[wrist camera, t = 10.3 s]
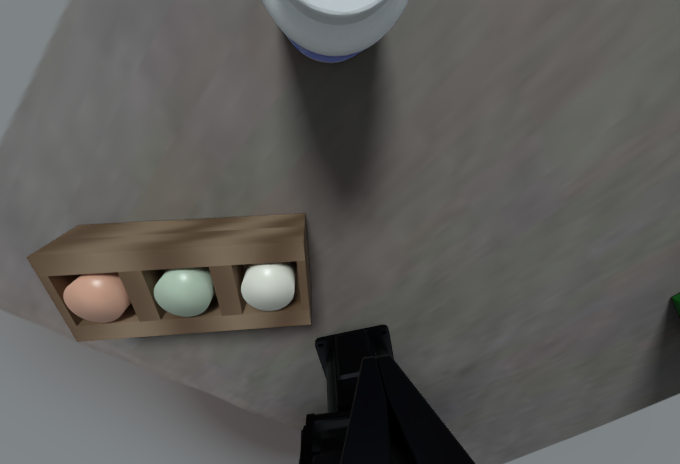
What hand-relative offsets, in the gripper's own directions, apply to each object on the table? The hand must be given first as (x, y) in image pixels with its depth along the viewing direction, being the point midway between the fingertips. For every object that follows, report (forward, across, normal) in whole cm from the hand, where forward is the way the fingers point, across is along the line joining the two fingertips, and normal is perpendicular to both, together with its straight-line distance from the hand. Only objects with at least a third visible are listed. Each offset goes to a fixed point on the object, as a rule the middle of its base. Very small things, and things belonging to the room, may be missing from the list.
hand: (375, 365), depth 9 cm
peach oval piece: (+11, +15, +3) cm, 19 cm away
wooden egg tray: (+13, +10, +3) cm, 17 cm away
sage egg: (+11, +10, +3) cm, 15 cm away
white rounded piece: (+11, +5, +4) cm, 13 cm away
